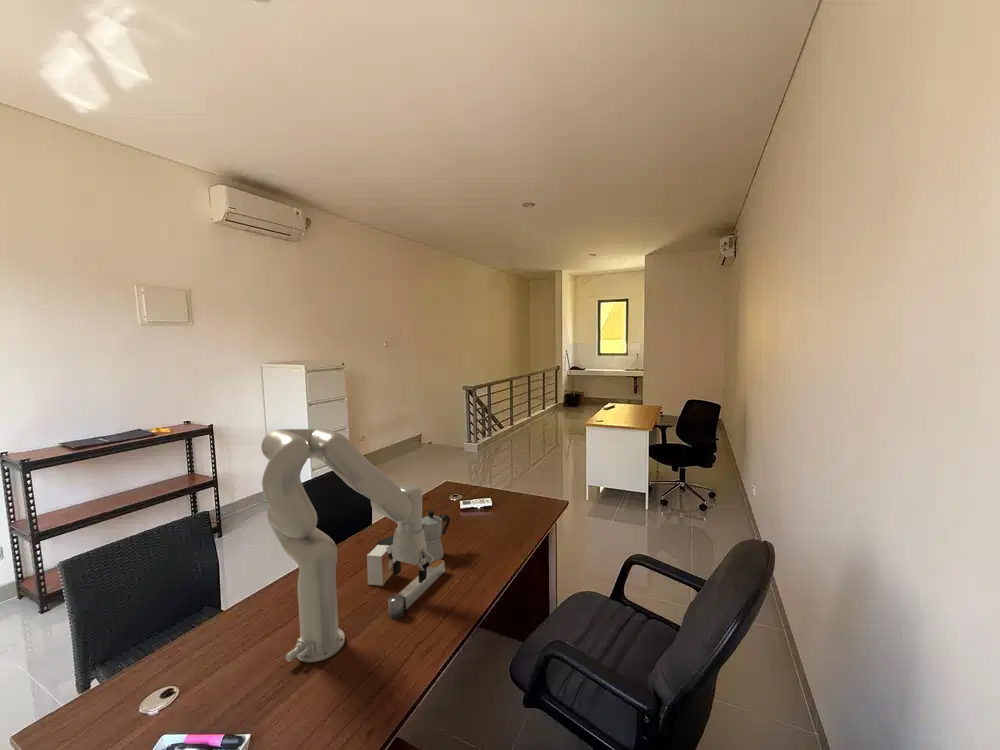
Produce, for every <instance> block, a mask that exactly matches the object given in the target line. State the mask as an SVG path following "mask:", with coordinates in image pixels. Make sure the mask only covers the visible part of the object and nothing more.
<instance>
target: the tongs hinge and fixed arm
mask: <svg viewBox="0 0 1000 750" xmlns="http://www.w3.org/2000/svg"><path fill="white" fill-rule="evenodd" d="M439 561H440V560H435V561H434V562H432V563H431V564H430V565H429V566H428V567H427V572H428V571H429V570H430V569H431V568H432V567H433V566H434V565H435V564H436V563H438V562H439ZM418 580H419V575H417V576H416V577H415V578H414V579H413V580H412V581H411V582H409V584H407V585H406V586H405V587H404V588H403V589H402V590H401V591H400V592H398V593H397V594H396V593H395V594H392V595H391V596H389V597H388V599H387V601H388V602H387V603H388V604H387V605H388V617H389V618H390V619H392V620H397V619H400V618H402V617H403V616H404V614H405V612H404V611H405V609H404V605H403V596H402V595H403V594H404V593H405V592H407V591H408V590H409V589H410V588H411V587H412V586H413V585H414V584H415V583H416V582H417V581H418Z"/></svg>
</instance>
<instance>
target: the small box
mask: <svg viewBox="0 0 1000 750" xmlns="http://www.w3.org/2000/svg"><path fill="white" fill-rule="evenodd" d="M387 547H388V546H387V545H378V544H377V545H375V547H374V548H373V549H372V550H371V551H369V553H367V554H366V565H367V566H366V567H367V584H368V585H370V586H384V585H385V583H386V582H387V581H388V580H389V579H390V578H391V577H392V576H393V564H392V563H391V559H390V557H389V556H388V555H389V554H388V552H387V549H386V548H387Z"/></svg>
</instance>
